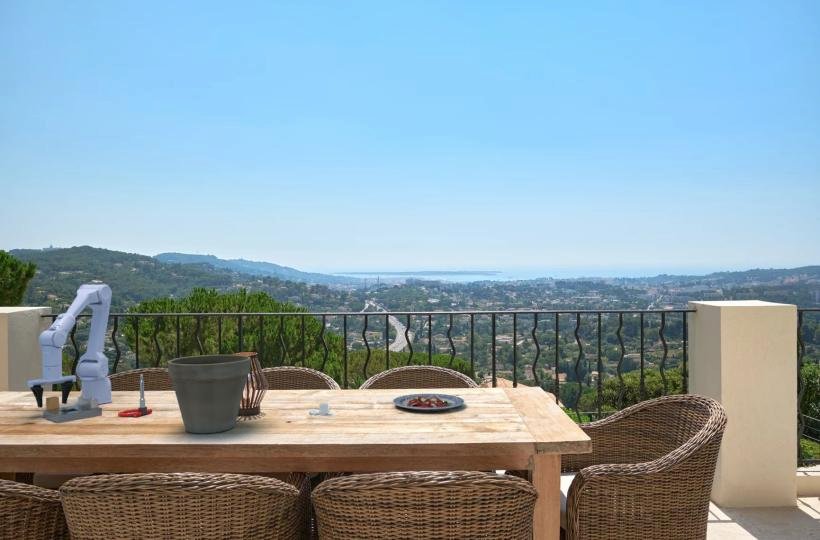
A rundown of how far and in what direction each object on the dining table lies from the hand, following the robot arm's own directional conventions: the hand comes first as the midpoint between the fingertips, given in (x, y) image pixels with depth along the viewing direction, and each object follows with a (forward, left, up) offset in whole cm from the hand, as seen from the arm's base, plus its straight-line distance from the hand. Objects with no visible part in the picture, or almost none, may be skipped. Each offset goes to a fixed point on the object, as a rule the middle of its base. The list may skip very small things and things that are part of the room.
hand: (52, 405), depth 213 cm
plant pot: (-24, +57, -4) cm, 62 cm away
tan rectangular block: (0, 0, -3) cm, 3 cm away
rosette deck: (-4, +7, -3) cm, 9 cm away
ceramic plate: (-91, +91, -4) cm, 129 cm away
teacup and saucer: (-60, +69, -4) cm, 92 cm away
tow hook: (-18, +20, -4) cm, 28 cm away
